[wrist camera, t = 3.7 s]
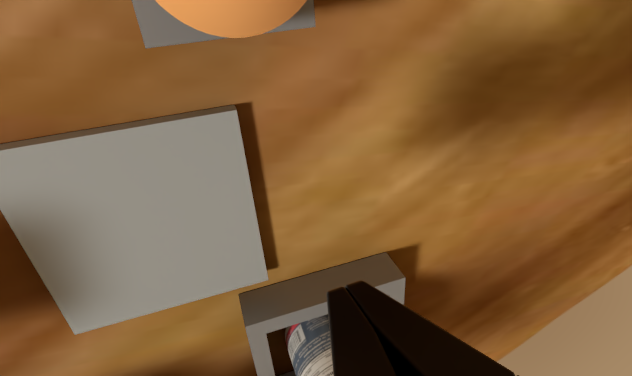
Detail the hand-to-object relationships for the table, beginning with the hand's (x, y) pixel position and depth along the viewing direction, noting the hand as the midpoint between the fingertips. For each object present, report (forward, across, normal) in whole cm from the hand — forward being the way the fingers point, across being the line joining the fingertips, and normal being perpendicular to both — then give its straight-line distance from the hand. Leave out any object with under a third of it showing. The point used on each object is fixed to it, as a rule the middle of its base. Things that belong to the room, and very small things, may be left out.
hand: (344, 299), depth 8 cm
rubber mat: (+12, +6, +4) cm, 13 cm away
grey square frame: (+12, -2, +15) cm, 19 cm away
